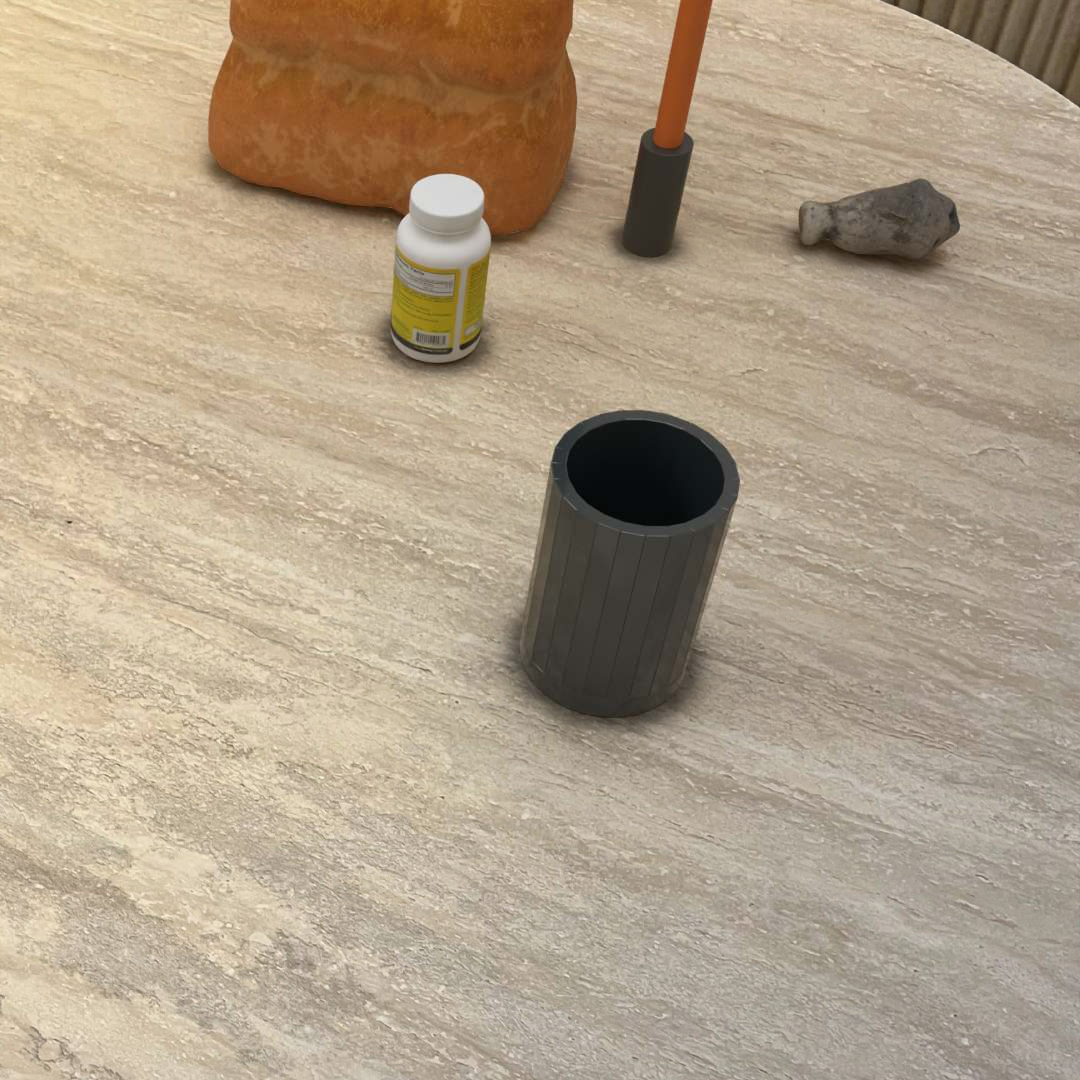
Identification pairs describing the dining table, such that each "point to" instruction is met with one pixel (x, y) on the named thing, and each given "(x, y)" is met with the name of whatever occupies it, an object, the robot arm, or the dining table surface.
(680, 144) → the brush
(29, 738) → the dining table surface
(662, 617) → the ribbed pencil cup
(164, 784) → the dining table surface
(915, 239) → the stone
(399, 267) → the pill bottle
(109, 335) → the dining table surface
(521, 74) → the bread
